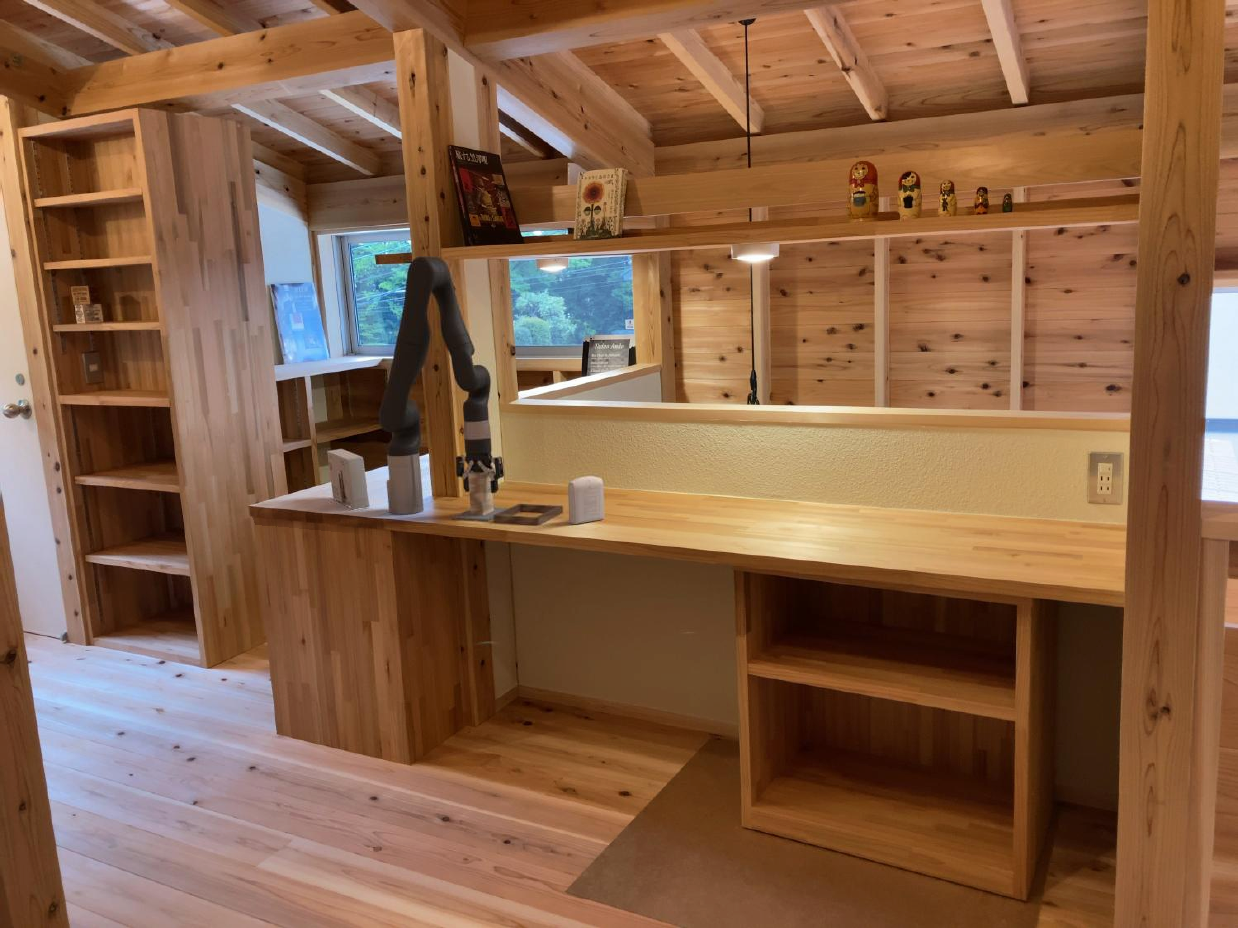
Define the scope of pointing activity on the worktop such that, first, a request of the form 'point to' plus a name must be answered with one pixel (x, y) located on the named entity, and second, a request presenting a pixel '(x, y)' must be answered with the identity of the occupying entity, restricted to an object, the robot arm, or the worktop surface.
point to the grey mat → (486, 517)
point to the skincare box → (348, 478)
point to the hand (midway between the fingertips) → (481, 492)
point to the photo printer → (586, 499)
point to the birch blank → (480, 493)
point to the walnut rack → (507, 517)
